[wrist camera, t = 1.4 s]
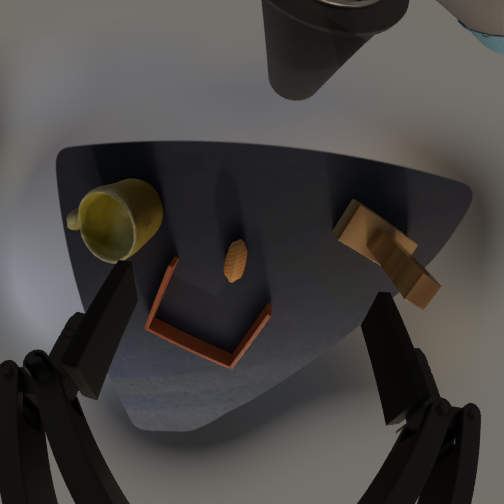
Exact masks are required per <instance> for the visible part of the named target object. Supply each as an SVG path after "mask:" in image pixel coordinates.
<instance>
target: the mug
mask: <svg viewBox="0 0 504 504" xmlns="http://www.w3.org/2000/svg"><path fill="white" fill-rule="evenodd" d="M162 218H163V205H162V203H161V200H160V197H159V194H158V193H157V191H156V190H155V189H154V188H153V187H152V186H151V185H150V184H149V183H147V182H145V181H143V180H140V179H125V180H122V181H120V182H117V183H114V184H109V185H104V186H100V187H97V188H95V189H93V190H91V191H90V192H88V193H87V194H86V195H85V197H84V198H83V199H82V201H81V203H80V205H79V208H78V209H75V210H73V211H71V212H70V213H69V214H68V216H67V227H68V228H69V229H71V230H79V229H80V231H81V236H82V238H83V240H84V242H85V244H86V245H87V247H88V249H89V250H90V251H91V252H92V253H93V254H94V255H95V256H96V257H98V258H100V259H101V260H103V261H105V262H108V263H117V262H118V260H123V261H124V260H126V259H127V258H128V257H130V256H131V255H133V254H134V253H136V252H137V251H138V250H139V249H140V248H141V247H142V246H143V245H144V244H145V243H146V242H147V241H148V240H149V239H150V238H151V237H152V236H153V235H154V234H155V233H156V232H157V230H158V229H159V227H160V225H161V223H162Z"/></svg>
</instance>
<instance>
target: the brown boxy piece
mask: <svg viewBox="0 0 504 504" xmlns="http://www.w3.org/2000/svg"><path fill="white" fill-rule="evenodd" d="M333 232H334V234H335V236H336V237H337V239H338V240H339V241H341V242H342V243H344V244H346V245H347V246H349V247H351V248H352V249H354V250H356V251H357V252H359V253H361V254H362V255H364V256H366V257H367V258H369V259H371V260H372V261H374V262H375V263H377V264H379V265H380V266H381V267H382V268H383V269H384V271H385V272H386V274H387V275H388V276H389V278H390V279H391V280H392V282H393V283H394V285H395V286H396V288H397V289H398V290H399V292H400V293H401V295H402V296H403V298H404V299H405V300H407V301H409V302H410V303H412V304H414V305H415V306H417V307H418V308H420V309H422V310H423V309H424V308H425V307H426V306H427V305H428V303H429V302H430V301H431V299H432V298H433V297H434V296H435V294H436V293H437V291H438V290H439V289H440V287H441V285H440V284H439V283H438V282H437V281H436V280H435V279H434V277H433V276H432V275H431V274H430V273H429V272H428V271H427V270H426V269H425V268H424V267H423V266H422V265H421V264H420V263H419V262H418V261H417V260H416V259H415V258H414V257H413V256H412V253H413V252H414V250H415V249H416V247H417V246H418V244H416V243H415V242H414V241H413V240H412V239H411V238H409V237H408V236H407V235H406V234H404V233H403V232H402V231H400V230H399V229H397V228H396V227H395V226H393V225H392V224H390V223H389V222H388V221H386V220H385V219H383V218H382V217H380V216H379V215H377V214H376V213H375V212H373V211H372V210H370V209H369V208H367V207H366V206H364V205H363V204H361V203H360V202H358V201H357V200H355V199H352V200H351V202H350V203H349V205H348V207H347V208H346V210H345V211H344V213H343V215H342V216H341V218H340V219H339V221H338V223H337V224H336V226H335V227H334V229H333Z"/></svg>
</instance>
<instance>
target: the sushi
mask: <svg viewBox="0 0 504 504" xmlns="http://www.w3.org/2000/svg"><path fill="white" fill-rule="evenodd" d="M246 259H247V247H246V245H245V243H244V241H243V240H237V241H235V242H232V244H231V246H230V248H229V250H228V253H227V256H226V259H225V264H224V274H225V276H226V277H227V278H228V280H229V282H234V281H235V280H237V279H239V278H240V277H241V276H242V274H243V272H244V268H245V264H246Z"/></svg>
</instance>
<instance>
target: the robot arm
mask: <svg viewBox="0 0 504 504" xmlns="http://www.w3.org/2000/svg"><path fill="white" fill-rule="evenodd" d="M311 1H313V2H315V3H318V4H321V5H324V6H327V7H331V8H335V9H342V10H360V9H365V8H369V7H371V6H373V5H375V4H377V3H378V2H379V1H380V0H311ZM436 1H438V2H439V3H440V4H441V5H442V6H443V7H445V8H446V9H447V10H448V11H449V12H450V13H452V15H453V16H455V17H456V18H457V19H458V22H459V23H460V24H461V25H462V26H463V27H464V28H465V29H467V30H469V31H470V32H471V33H472V34H473V35H474V36H475V37H476V38H477V39H478V40H479V41H480V42H482V44H484V45H485V46H486V47H488V48H490V49H491V50H493V51H495V52H497V53H500V54H503V55H504V0H436ZM137 302H138V297H137V292H136V286H135V281H134V275H133V268H132V262H130V261H123V260H118V262H117V263H116V265H115V266H114V268H113V269H112V271H111V272H110V274H109V276H108V277H107V279H106V280H105V282H104V284H103V285H102V287H101V288H100V290H99V292H98V293H97V295H96V297H95V298H94V300H93V302H92V303H91V305H90V307H89V309H88V310H87V312H86V314H84V313H80V312H76V313H75V314H74V315H73V316H72V317H71V318H69V320H68V322H67V323H66V325H65V328H64V329H63V330H62V332H61V335H60V336H59V337H58V339H57V341H56V343H55V345H54V347H53V349H52V350H51V352H50V354H49V356H48V355H47V353H45V352H44V351H42V350H33V351H31V352H29V353H28V354H27V355H26V356H25V359H24V361H23V367H18V365H17V364H16V363H15V362H13V361H12V360H7V361H4V362H3V363H1V364H0V494H1V499H2V504H58V503H57V499H56V494H55V490H54V486H53V481H52V476H51V471H50V465H49V459H48V452H47V444H46V435H47V438H48V441H49V443H50V446H51V449H52V452H53V455H54V457H55V460H56V462H57V465H58V467H59V469H60V472H61V474H62V476H63V478H64V481H65V483H66V486H67V488H68V490H69V491H70V494H71V496H72V498H73V500H74V502H75V504H129V502H128V501H127V499H126V497H125V496H124V494H123V492H122V491H121V489H120V487H119V486H118V484H117V482H116V481H115V479H114V477H113V475H112V473H111V471H110V470H109V468H108V466H107V464H106V462H105V460H104V458H103V456H102V454H101V452H100V450H99V448H98V446H97V444H96V441H95V439H94V437H93V435H92V433H91V430H90V428H89V426H88V423H87V421H86V418H85V416H84V413H83V411H82V408H81V406H80V403H79V400H78V398H77V397H76V395H77V393H78V390H79V391H80V392H81V394H82V395H83V396H86V397H88V398H91V399H95V400H98V396H99V394H100V391H101V388H102V386H103V383H104V380H105V378H106V375H107V372H108V370H109V367H110V365H111V362H112V360H113V357H114V355H115V352H116V350H117V347H118V345H119V343H120V340H121V338H122V335H123V333H124V331H125V328H126V326H127V324H128V322H129V319H130V317H131V315H132V313H133V310H134V308H135V306H136V304H137ZM361 328H362V332H363V335H364V338H365V342H366V345H367V349H368V353H369V356H370V360H371V363H372V367H373V371H374V375H375V379H376V383H377V387H378V391H379V395H380V400H381V404H382V408H383V413H384V418H385V422H386V425H393V424H399V423H400V422H402V421H403V420H404V419H405V418H406V422H407V423H406V424H405V425H404V426H402V427H401V428H400V429H398V430H397V431H396V433H399V432H400V431H401V433H400V435H399V437H398V439H397V440H396V442H395V444H394V446H393V448H392V450H391V452H390V453H389V455H388V457H387V459H386V460H385V462H384V464H383V465H382V467H381V469H380V470H379V472H378V474H377V475H376V477H375V478H374V480H373V481H372V483H371V485H370V486H369V488H368V489H367V491H366V492H365V493H364V495H363V496H362V498H361V499H360V500H359V502H358V503H357V504H415V502H416V501H417V499H418V497H419V499H418V502H417V504H471V501H472V497H473V491H474V486H475V479H476V473H477V466H478V457H479V446H480V428H481V414H480V410H479V408H478V407H477V406H476V405H475V404H473V403H468V404H467V405H465V406H464V407H463V408H459V407H452V406H451V404H450V403H449V402H448V401H447V400H446V399H444V398H441V397H440V395H439V392H438V389H437V386H436V383H435V380H434V378H433V375H432V373H431V369H430V367H429V366H428V362H427V359H426V356H425V355H424V353H423V352H422V351H421V350H420V348H414V347H413V345H412V342H411V339H410V337H409V335H408V332H407V330H406V327H405V325H404V323H403V320H402V318H401V316H400V313H399V311H398V309H397V307H396V304H395V302H394V300H393V298H392V296H391V293H388V292H378V294H377V296H376V298H375V300H374V302H373V304H372V306H371V308H370V310H369V311H368V313H367V315H366V317H365V319H364V321H363V322H362V324H361ZM45 432H46V435H45ZM454 441H455V444H454Z"/></svg>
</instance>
